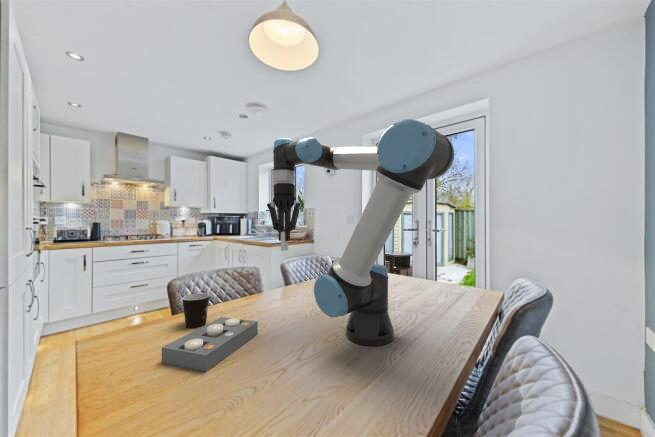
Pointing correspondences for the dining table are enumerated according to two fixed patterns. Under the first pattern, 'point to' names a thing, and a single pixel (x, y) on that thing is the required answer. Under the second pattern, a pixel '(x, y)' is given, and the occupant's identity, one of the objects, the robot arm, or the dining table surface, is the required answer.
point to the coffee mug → (195, 310)
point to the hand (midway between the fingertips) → (284, 250)
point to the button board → (209, 345)
